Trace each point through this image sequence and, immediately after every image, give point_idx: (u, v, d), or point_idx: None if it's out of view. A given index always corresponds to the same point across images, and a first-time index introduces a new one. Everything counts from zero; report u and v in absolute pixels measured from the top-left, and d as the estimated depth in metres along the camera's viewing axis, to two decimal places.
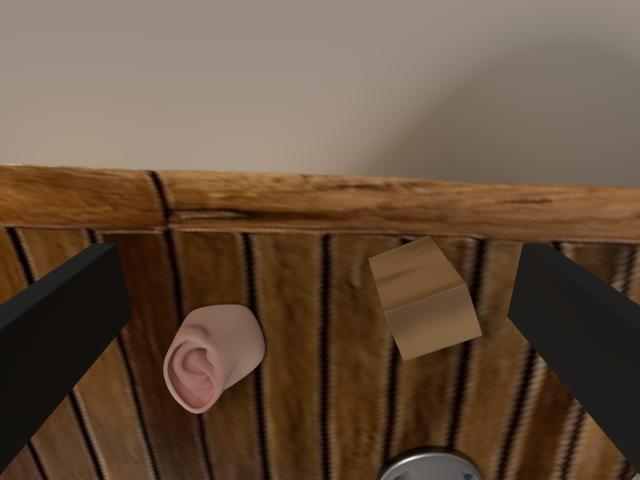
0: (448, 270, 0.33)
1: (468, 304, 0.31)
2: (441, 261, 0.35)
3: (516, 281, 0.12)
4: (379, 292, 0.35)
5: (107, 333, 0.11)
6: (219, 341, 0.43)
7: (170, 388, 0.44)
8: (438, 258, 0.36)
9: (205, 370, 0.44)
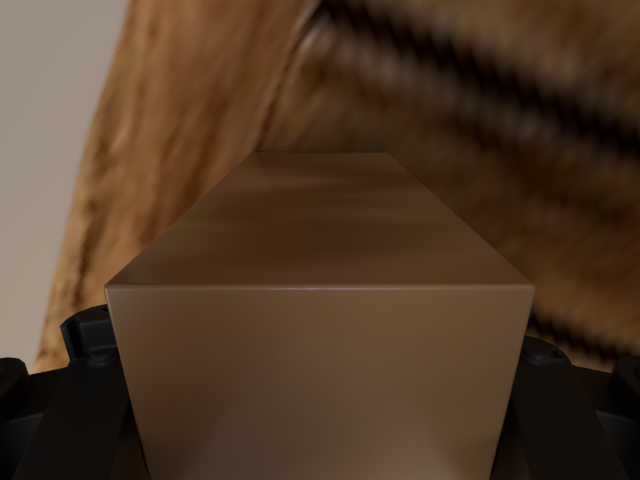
0: None
1: (259, 309, 0.05)
2: None
3: None
4: None
5: None
6: None
7: None
8: None
9: None
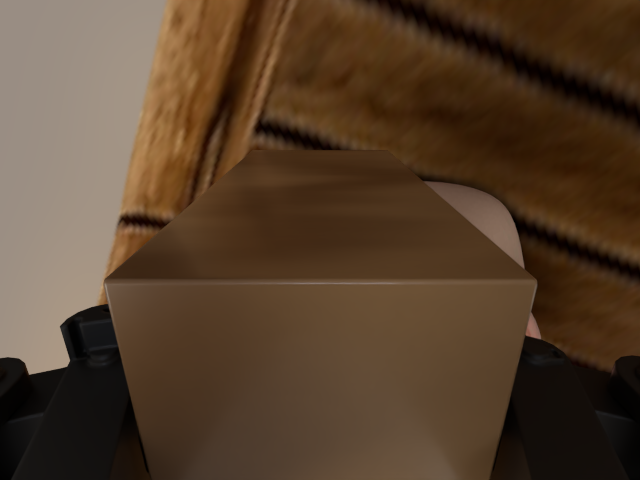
0: None
1: (259, 304, 0.05)
2: None
3: None
4: None
5: None
6: None
7: None
8: None
9: None
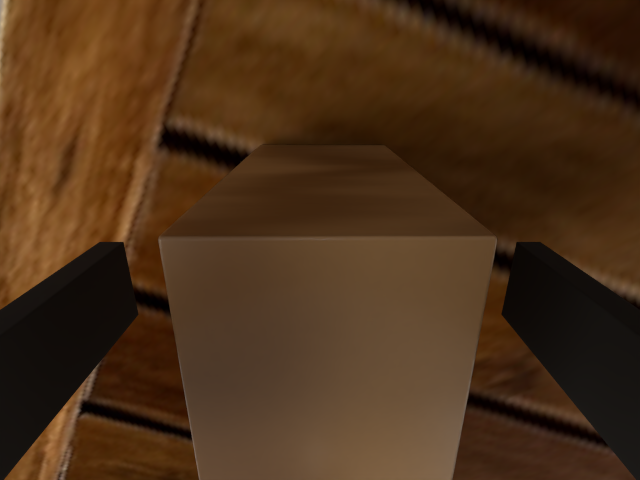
0: None
1: (280, 256, 0.06)
2: None
3: (510, 280, 0.12)
4: None
5: (114, 331, 0.11)
6: None
7: None
8: None
9: None
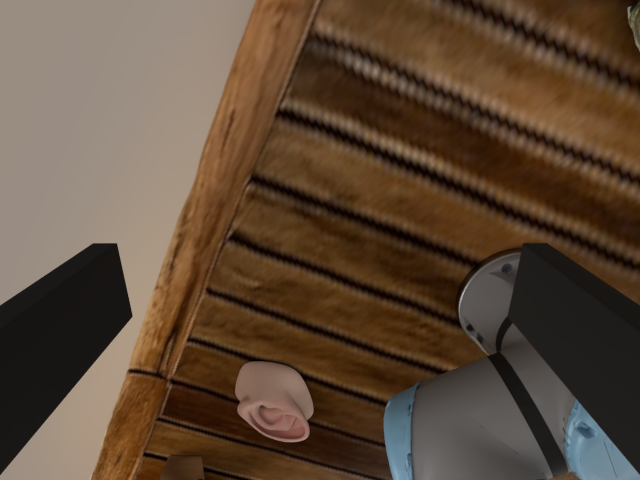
0: None
1: None
2: None
3: (516, 282, 0.12)
4: None
5: (107, 333, 0.11)
6: (257, 395, 0.55)
7: (281, 440, 0.57)
8: None
9: (276, 414, 0.56)
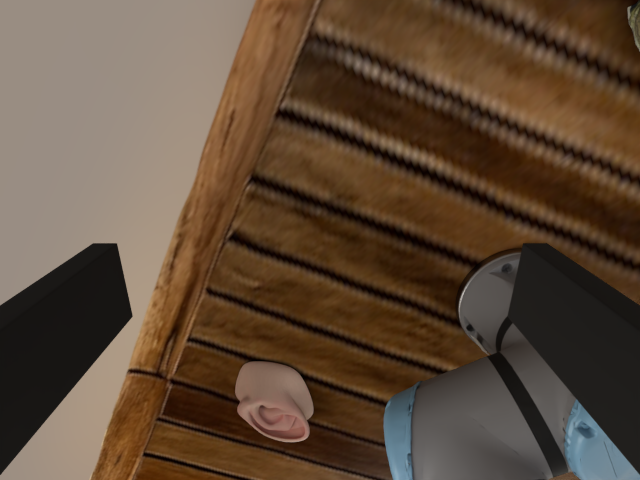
0: None
1: None
2: None
3: (516, 282, 0.12)
4: None
5: (107, 333, 0.11)
6: (257, 395, 0.55)
7: (281, 440, 0.57)
8: None
9: (276, 414, 0.56)
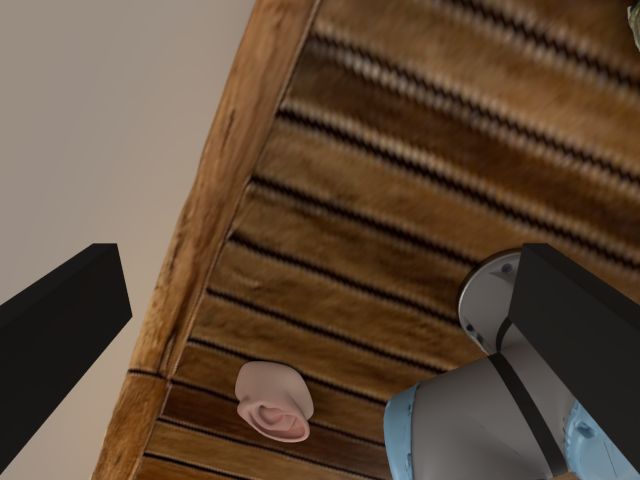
0: None
1: None
2: None
3: (516, 282, 0.12)
4: None
5: (107, 333, 0.11)
6: (257, 395, 0.55)
7: (281, 440, 0.57)
8: None
9: (276, 414, 0.56)
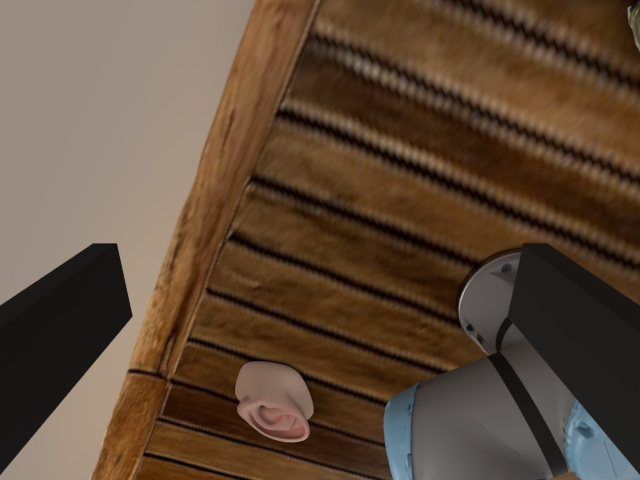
0: None
1: None
2: None
3: (516, 282, 0.12)
4: None
5: (107, 333, 0.11)
6: (257, 395, 0.55)
7: (281, 440, 0.57)
8: None
9: (276, 414, 0.56)
